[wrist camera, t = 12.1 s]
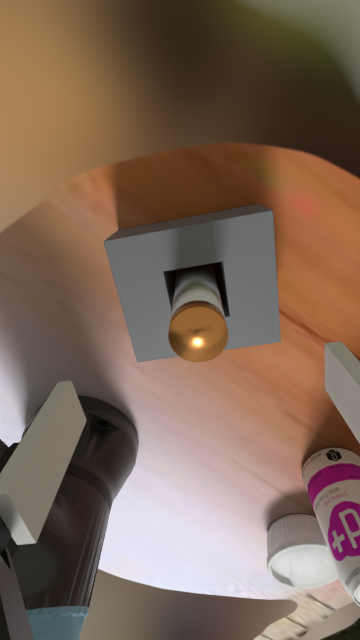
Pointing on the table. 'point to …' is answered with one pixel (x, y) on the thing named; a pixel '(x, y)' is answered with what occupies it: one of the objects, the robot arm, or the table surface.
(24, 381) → the table surface
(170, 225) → the block
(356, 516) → the supplement can
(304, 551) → the ramekin
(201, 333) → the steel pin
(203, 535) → the table surface
